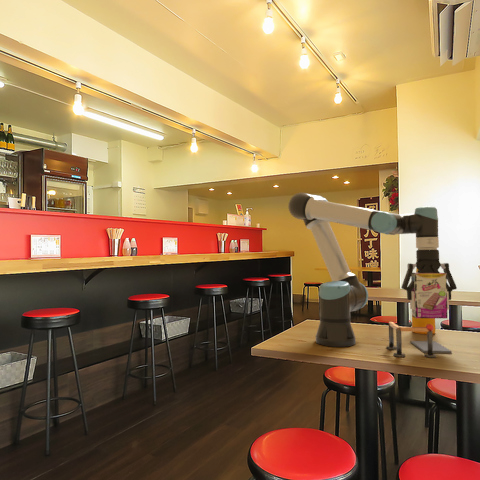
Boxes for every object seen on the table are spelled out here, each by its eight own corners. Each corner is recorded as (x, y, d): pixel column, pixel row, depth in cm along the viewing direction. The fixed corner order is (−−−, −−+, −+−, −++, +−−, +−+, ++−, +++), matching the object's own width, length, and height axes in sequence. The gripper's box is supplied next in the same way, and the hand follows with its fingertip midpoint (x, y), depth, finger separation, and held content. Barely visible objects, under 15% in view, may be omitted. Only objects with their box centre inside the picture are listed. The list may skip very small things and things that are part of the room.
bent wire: (395, 357, 131) (394, 324, 131) (385, 347, 144) (384, 317, 144) (438, 358, 129) (437, 325, 129) (423, 347, 142) (423, 318, 143)
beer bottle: (422, 335, 164) (420, 265, 164) (407, 331, 172) (405, 265, 173) (440, 333, 166) (438, 265, 167) (424, 329, 175) (423, 264, 176)
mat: (424, 353, 135) (424, 350, 135) (410, 342, 150) (410, 340, 150) (451, 353, 134) (451, 351, 134) (435, 343, 149) (435, 341, 149)
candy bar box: (416, 318, 141) (414, 273, 141) (411, 316, 146) (410, 272, 146) (448, 318, 139) (447, 272, 140) (442, 316, 144) (441, 272, 145)
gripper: (396, 249, 141) (398, 310, 140) (466, 248, 138) (468, 310, 138) (391, 249, 149) (393, 307, 148) (456, 248, 146) (459, 307, 145)
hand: (429, 309), depth 143 cm, fingers closed on candy bar box, 11 cm apart
